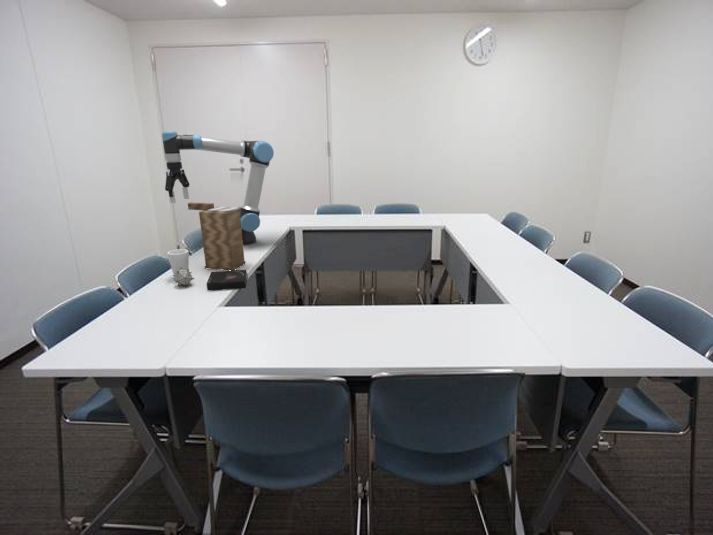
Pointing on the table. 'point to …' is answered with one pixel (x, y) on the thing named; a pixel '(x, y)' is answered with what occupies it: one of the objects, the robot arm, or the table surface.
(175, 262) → the foam cup
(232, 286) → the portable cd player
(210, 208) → the turner
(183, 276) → the grey spiky ball
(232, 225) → the brown patterned box
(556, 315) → the table surface
